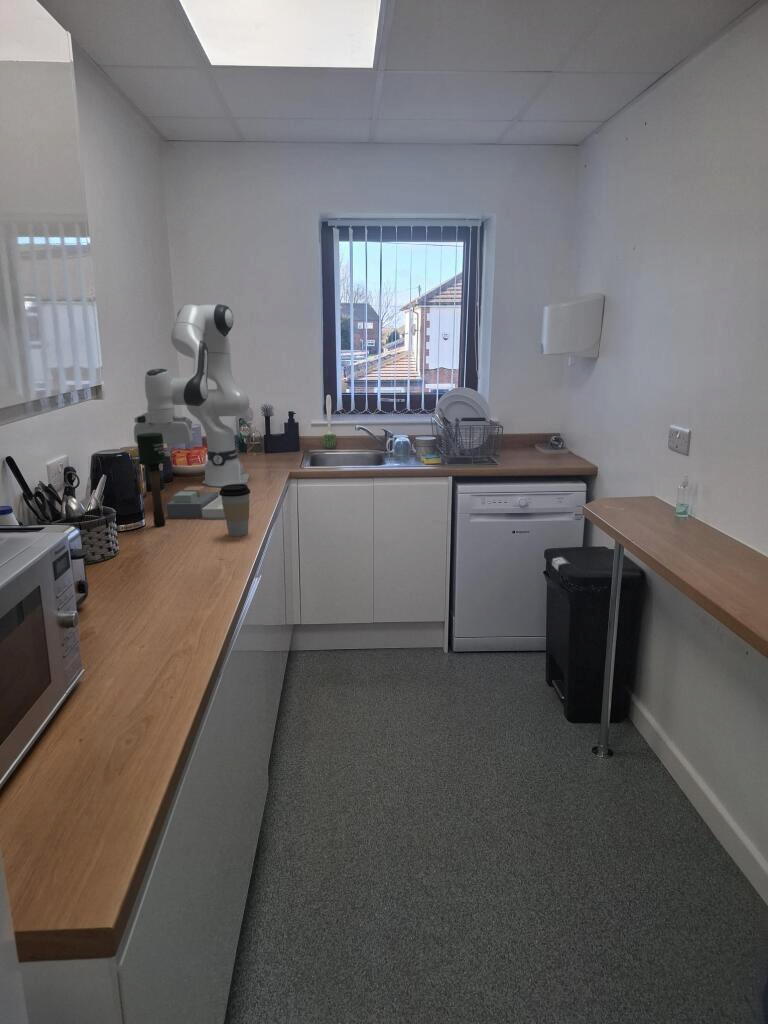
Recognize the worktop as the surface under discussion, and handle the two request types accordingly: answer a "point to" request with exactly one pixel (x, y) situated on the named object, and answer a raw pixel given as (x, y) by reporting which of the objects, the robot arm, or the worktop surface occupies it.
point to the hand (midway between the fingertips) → (165, 456)
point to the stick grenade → (153, 468)
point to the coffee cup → (236, 508)
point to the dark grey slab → (190, 506)
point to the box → (214, 510)
